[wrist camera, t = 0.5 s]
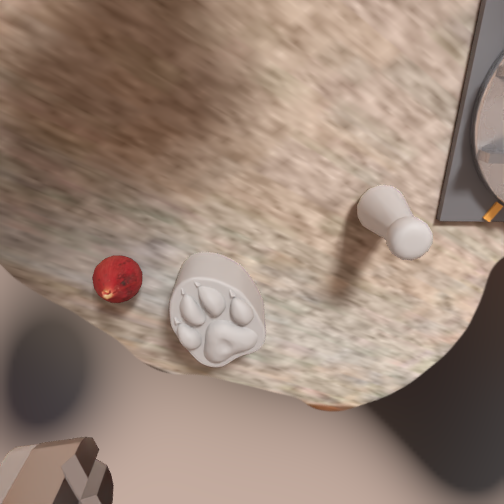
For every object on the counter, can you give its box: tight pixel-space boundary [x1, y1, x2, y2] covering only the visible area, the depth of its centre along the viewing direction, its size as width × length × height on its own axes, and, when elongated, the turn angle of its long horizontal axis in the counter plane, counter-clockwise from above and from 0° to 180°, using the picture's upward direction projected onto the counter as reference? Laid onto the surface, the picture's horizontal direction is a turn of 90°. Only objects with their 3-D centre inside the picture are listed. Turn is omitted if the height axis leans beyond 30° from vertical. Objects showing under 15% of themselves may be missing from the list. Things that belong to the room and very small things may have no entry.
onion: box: [92, 256, 142, 303], centre depth 52 cm, size 6×6×8 cm
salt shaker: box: [357, 185, 433, 260], centre depth 46 cm, size 6×6×13 cm
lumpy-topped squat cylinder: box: [169, 252, 266, 367], centre depth 53 cm, size 10×13×9 cm
